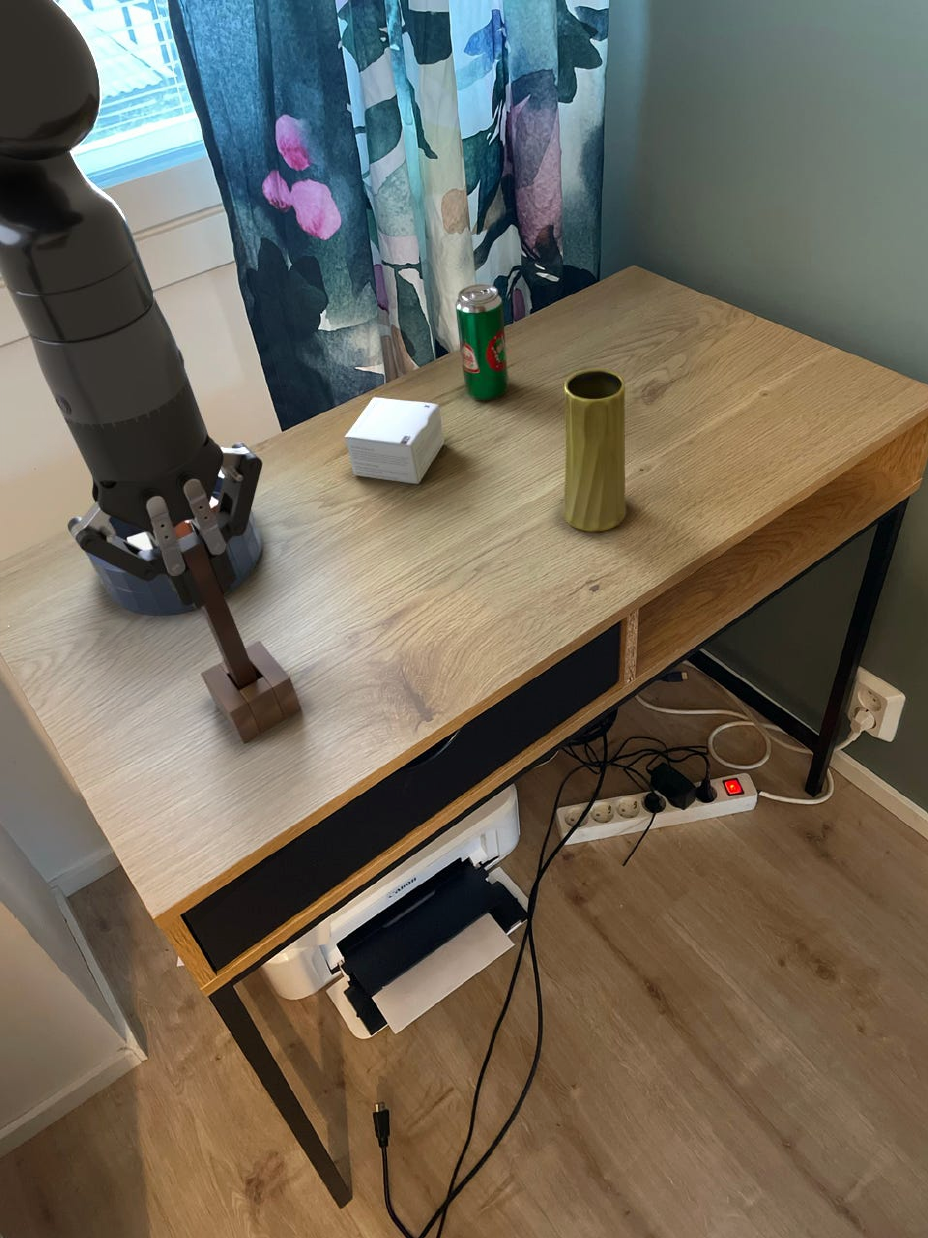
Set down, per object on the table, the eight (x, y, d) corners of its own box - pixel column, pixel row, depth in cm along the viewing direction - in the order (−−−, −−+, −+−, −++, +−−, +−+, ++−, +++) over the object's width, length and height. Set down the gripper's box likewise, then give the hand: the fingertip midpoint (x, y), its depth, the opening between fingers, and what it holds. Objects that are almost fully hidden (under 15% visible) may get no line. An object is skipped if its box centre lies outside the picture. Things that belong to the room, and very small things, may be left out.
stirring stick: (245, 702, 72) (181, 553, 61) (236, 690, 73) (172, 541, 62) (263, 692, 73) (203, 542, 61) (254, 680, 74) (193, 531, 62)
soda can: (460, 385, 106) (448, 288, 97) (500, 375, 107) (492, 278, 98) (473, 407, 103) (462, 308, 94) (514, 396, 103) (507, 297, 95)
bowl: (140, 641, 81) (117, 598, 77) (82, 556, 91) (59, 514, 87) (289, 561, 87) (275, 518, 83) (220, 490, 96) (204, 447, 92)
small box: (381, 434, 101) (373, 394, 97) (446, 443, 98) (440, 402, 94) (351, 476, 96) (342, 435, 92) (419, 486, 93) (412, 445, 90)
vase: (553, 503, 89) (548, 376, 79) (609, 486, 90) (611, 358, 80) (578, 540, 85) (576, 410, 75) (637, 521, 86) (643, 391, 76)
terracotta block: (200, 554, 88) (187, 523, 85) (177, 538, 90) (164, 507, 87) (232, 533, 90) (220, 502, 87) (210, 518, 92) (197, 487, 89)
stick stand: (243, 744, 72) (229, 713, 69) (215, 704, 75) (200, 673, 72) (301, 708, 74) (290, 677, 71) (271, 671, 77) (259, 640, 74)
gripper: (200, 320, 58) (268, 528, 70) (-12, 404, 53) (102, 612, 65) (253, 362, 53) (315, 577, 65) (26, 458, 48) (140, 671, 60)
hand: (209, 594), depth 65 cm, fingers closed on stirring stick, 1 cm apart
